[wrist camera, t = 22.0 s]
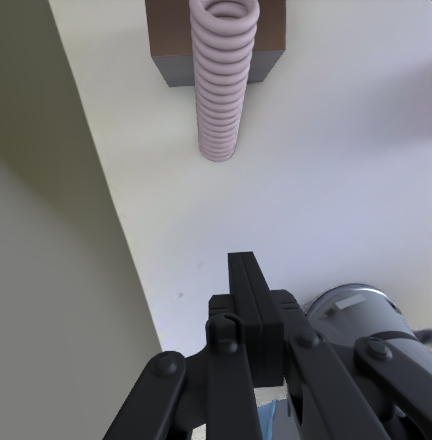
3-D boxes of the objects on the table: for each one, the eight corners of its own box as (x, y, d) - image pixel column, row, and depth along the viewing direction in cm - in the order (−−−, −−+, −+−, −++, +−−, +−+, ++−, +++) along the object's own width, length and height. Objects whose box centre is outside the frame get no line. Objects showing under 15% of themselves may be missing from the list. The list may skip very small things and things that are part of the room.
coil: (237, 162, 32) (271, 12, 15) (202, 167, 32) (193, 19, 14) (231, 131, 33) (254, -40, 16) (196, 136, 33) (183, -35, 16)
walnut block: (262, 81, 32) (285, 49, 22) (168, 87, 32) (151, 57, 22) (261, 17, 30) (286, -49, 20) (162, 23, 30) (140, -40, 20)
